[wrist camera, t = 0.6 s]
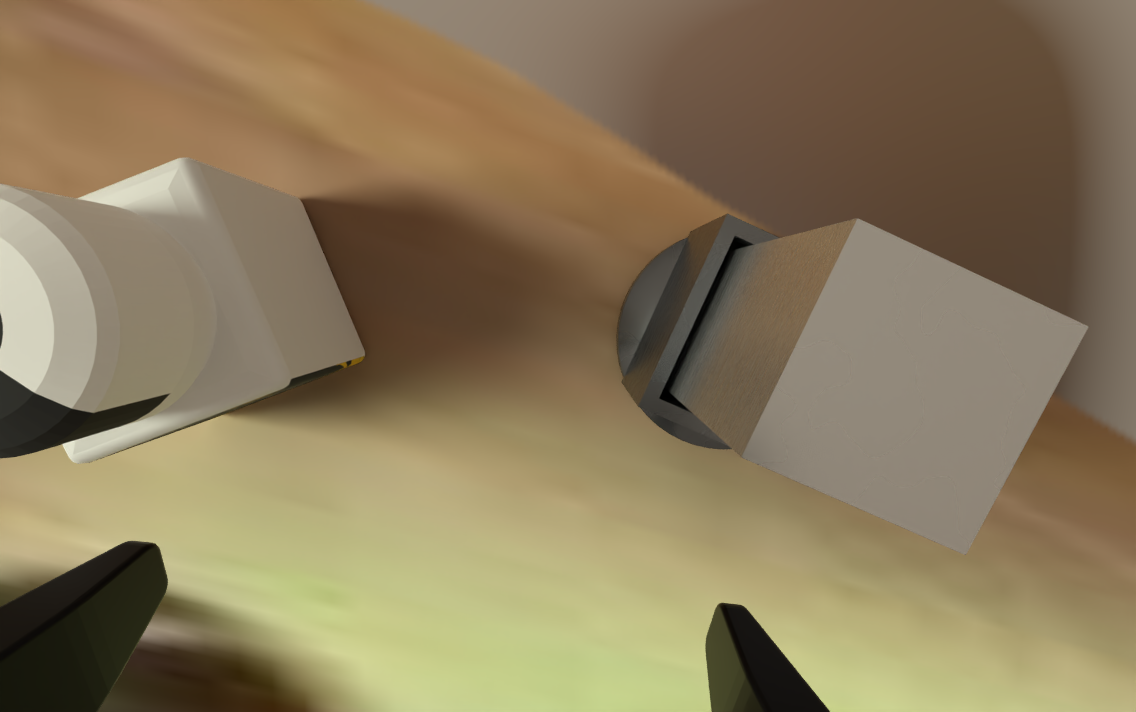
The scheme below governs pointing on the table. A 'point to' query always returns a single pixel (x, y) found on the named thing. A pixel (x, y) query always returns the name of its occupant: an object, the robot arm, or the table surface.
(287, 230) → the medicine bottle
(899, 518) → the column
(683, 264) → the base
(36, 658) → the robot arm
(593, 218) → the table surface
